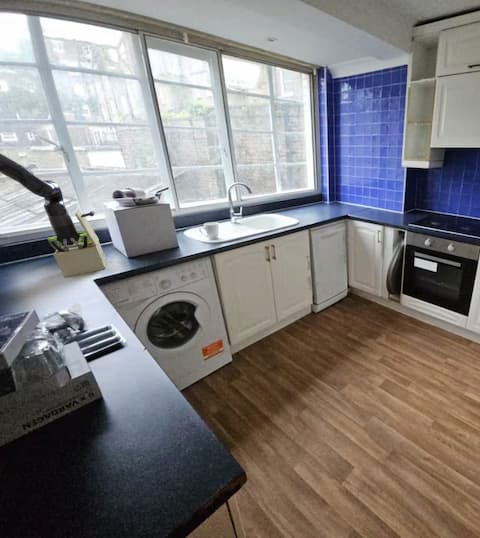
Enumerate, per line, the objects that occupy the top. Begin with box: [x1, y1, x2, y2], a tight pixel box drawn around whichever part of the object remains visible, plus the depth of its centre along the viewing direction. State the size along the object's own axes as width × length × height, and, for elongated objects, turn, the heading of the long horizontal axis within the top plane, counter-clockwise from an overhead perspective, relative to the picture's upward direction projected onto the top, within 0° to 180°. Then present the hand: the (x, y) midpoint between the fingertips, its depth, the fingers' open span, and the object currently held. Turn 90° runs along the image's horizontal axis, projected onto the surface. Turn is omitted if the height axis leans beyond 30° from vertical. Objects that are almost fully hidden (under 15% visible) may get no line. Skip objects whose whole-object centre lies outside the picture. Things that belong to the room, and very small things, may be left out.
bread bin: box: [53, 241, 108, 278], centre depth 148 cm, size 16×14×12 cm
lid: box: [74, 209, 100, 246], centre depth 147 cm, size 16×14×6 cm
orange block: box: [68, 247, 80, 251], centre depth 147 cm, size 4×4×9 cm
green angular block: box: [47, 231, 92, 251], centre depth 167 cm, size 14×14×13 cm
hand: (77, 257), depth 147 cm, fingers closed on orange block, 4 cm apart
